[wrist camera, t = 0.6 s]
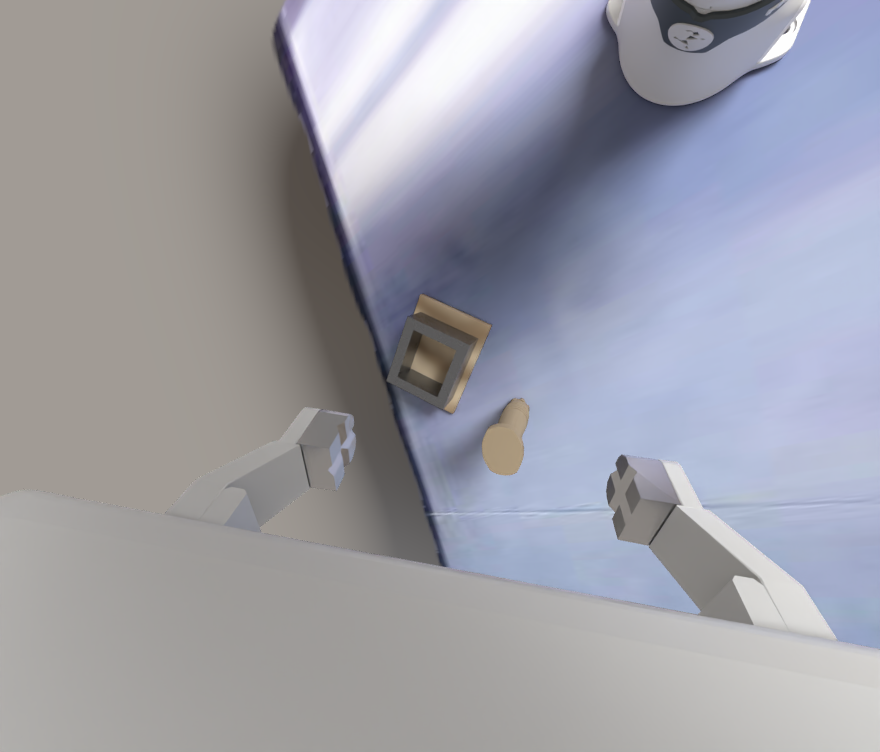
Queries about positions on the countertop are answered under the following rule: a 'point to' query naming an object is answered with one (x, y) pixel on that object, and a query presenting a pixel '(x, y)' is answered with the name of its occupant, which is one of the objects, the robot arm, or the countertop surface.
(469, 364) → the base board
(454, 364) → the square frame
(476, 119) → the countertop surface
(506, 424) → the handle
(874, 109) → the countertop surface
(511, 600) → the robot arm
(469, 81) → the countertop surface
